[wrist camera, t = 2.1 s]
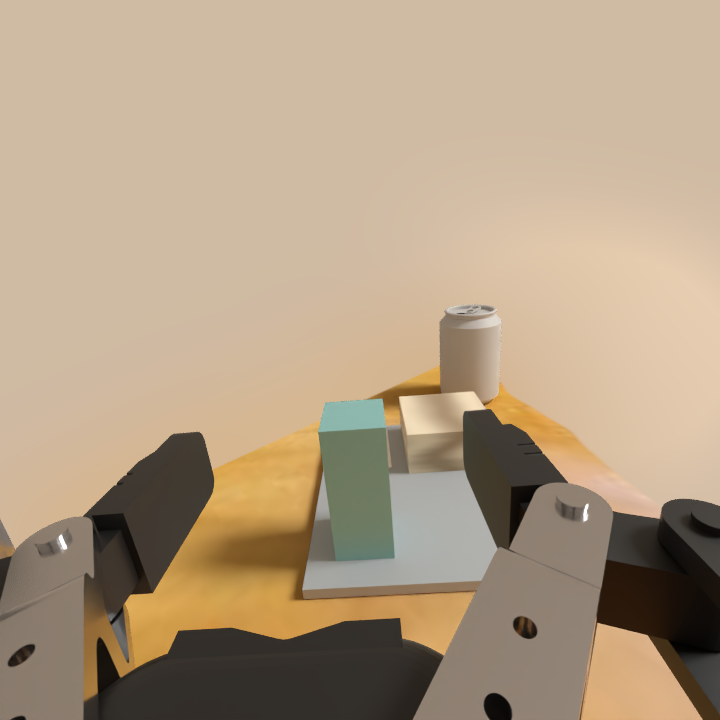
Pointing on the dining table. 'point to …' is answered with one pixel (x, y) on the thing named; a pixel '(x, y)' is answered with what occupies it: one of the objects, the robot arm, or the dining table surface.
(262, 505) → the dining table surface
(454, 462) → the base block
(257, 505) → the dining table surface
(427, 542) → the mat
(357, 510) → the pillar
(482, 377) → the can
